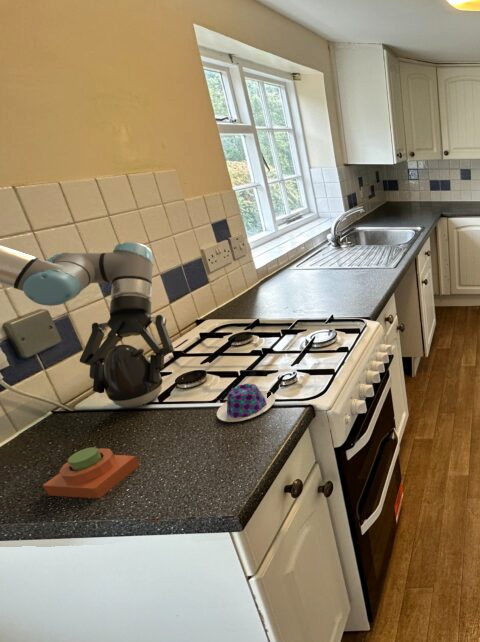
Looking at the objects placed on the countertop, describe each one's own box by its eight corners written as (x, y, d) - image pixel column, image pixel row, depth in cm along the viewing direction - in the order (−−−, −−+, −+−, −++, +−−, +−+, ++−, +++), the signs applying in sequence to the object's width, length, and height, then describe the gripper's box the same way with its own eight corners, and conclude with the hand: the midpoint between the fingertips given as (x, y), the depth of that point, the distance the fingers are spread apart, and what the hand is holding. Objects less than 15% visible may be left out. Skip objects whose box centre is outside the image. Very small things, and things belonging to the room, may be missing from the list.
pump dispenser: (145, 413, 96) (121, 357, 90) (101, 413, 96) (74, 356, 90) (178, 388, 105) (158, 335, 99) (138, 388, 105) (116, 335, 99)
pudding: (286, 403, 99) (281, 385, 97) (233, 431, 90) (226, 411, 88) (260, 388, 105) (255, 370, 103) (207, 412, 96) (201, 393, 94)
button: (65, 470, 74) (61, 462, 73) (88, 455, 78) (84, 446, 77) (86, 472, 74) (81, 463, 73) (108, 456, 78) (104, 447, 77)
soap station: (48, 495, 74) (37, 476, 72) (92, 462, 81) (83, 445, 80) (99, 498, 73) (89, 479, 72) (140, 465, 81) (131, 447, 79)
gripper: (190, 300, 110) (191, 380, 103) (84, 312, 102) (75, 400, 95) (178, 288, 104) (177, 373, 96) (63, 300, 96) (52, 394, 88)
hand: (127, 386), depth 95 cm, fingers closed on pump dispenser, 10 cm apart
